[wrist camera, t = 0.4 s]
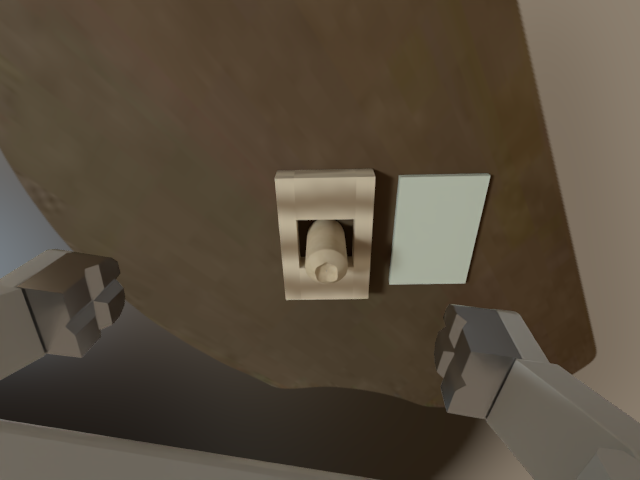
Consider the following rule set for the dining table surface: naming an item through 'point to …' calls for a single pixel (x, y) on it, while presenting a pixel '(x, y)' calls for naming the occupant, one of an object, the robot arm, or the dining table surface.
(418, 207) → the sage mat
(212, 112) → the dining table surface
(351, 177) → the socket block
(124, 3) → the dining table surface
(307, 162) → the dining table surface
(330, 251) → the candle
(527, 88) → the dining table surface
